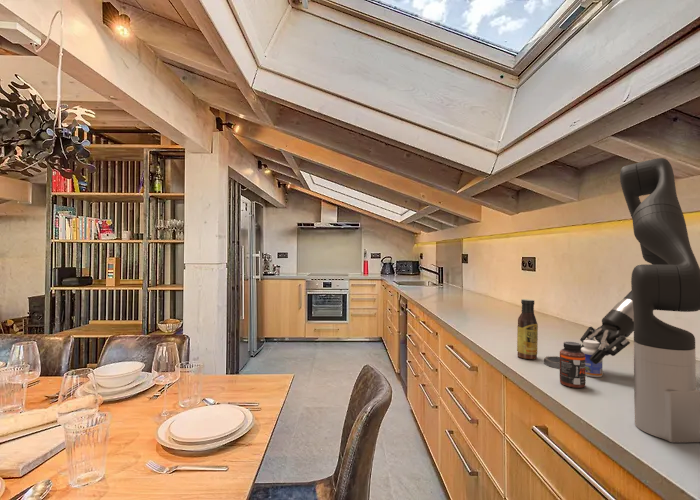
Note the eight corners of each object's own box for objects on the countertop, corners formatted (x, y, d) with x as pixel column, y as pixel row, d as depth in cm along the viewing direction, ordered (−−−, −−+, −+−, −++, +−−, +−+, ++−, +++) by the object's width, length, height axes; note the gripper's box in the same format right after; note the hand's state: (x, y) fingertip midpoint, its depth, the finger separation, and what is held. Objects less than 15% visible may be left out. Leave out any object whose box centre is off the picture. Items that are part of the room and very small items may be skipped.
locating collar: (579, 369, 108) (579, 363, 108) (554, 369, 108) (554, 363, 108) (563, 361, 116) (563, 356, 116) (539, 361, 116) (539, 356, 116)
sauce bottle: (528, 361, 116) (528, 301, 116) (513, 356, 122) (512, 299, 122) (542, 358, 119) (541, 300, 119) (526, 354, 124) (525, 298, 125)
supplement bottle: (584, 390, 91) (584, 347, 91) (558, 385, 94) (557, 343, 94) (586, 384, 95) (585, 342, 96) (561, 379, 99) (560, 339, 99)
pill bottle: (576, 371, 106) (575, 339, 106) (593, 371, 106) (592, 339, 106) (589, 377, 100) (589, 343, 100) (607, 377, 101) (607, 343, 101)
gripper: (597, 305, 111) (560, 343, 110) (635, 312, 96) (593, 356, 96) (614, 322, 111) (577, 360, 110) (655, 332, 96) (612, 375, 96)
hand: (585, 358), depth 103 cm, fingers closed on pill bottle, 5 cm apart
